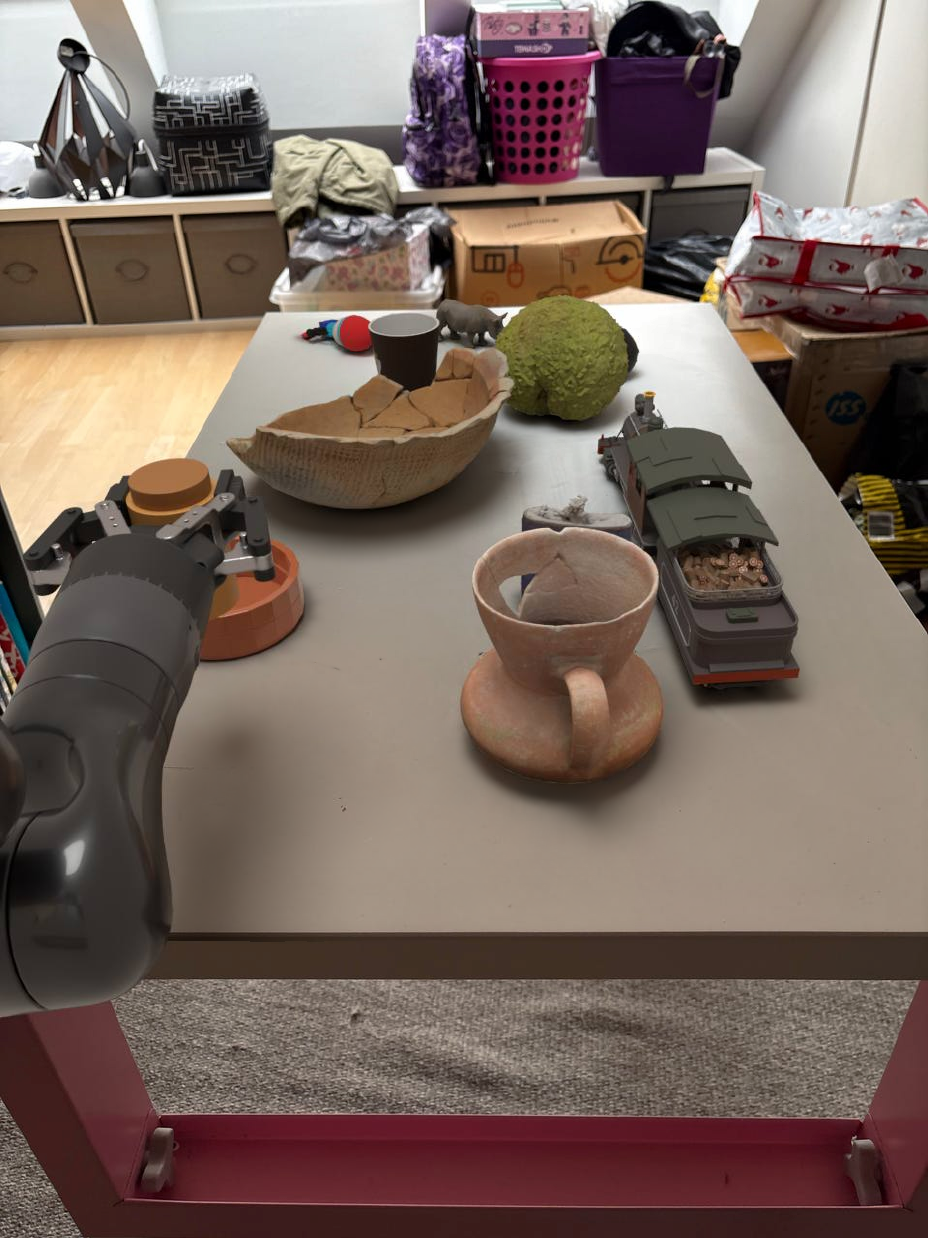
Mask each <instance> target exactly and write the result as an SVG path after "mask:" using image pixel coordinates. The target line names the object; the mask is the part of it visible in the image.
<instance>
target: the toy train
mask: <svg viewBox="0 0 928 1238" xmlns="http://www.w3.org/2000/svg"><path fill="white" fill-rule="evenodd" d="M656 395H657V393H656V392H655V391H651V390H648V391H644V392H643V393H638V394H636V395H635V396H634V411H633V412H631V413H630V411H629V410H627V411H626V413H627V414H628V416H627V417H625V419H624V421H623V423H622V427H621V429H620V430H619V432H618V434H617V435H612V436H608V437H605V433H601V437H600V438H598V439H597V454H598V455H599V456H600V455H603V456H602V464H603V467H604V469H605V472H606V474H607V475H608V476H609V477H611V478H615V482H616V483H620V486H621V489H622V491H623V495H622V497H623V499H624V501H625V503H626V507H627V509H628V511H629V514H630V516H631V520H632V522H633V527H632V533H633V534H634V536H635V540H636V541H637V543H638V547H640V548H641V549H642V550H643V551H644V552H646V553H647V554H648V555H649V556H650V557H651V558H652V560H653V562H654V563H655V565H656V567H657V570H658V574H659V586H658V591H657V595H658V597H659V600H660V602H661V605H662V608H663V610H664V613H665V615H666V618H667V620H668V624H669V625H670V628H671V631H672V633H673V637H674V639H675V641H676V644H677V646H678V649H679V651H680V654H681V656H682V659H683V661H684V665H685V666H686V669H687V672H688V675H689V678H690V680H691V682H692V685H703V686H704V687H707V689H711V688H714V689H717V690H724V688H725V689H726V688H742V687H755V688H761V687H762V686H766V685H767V684H768V681H769V680H786V679H787V680H788V679H798V678H799V675H800V672H801V671H800V670H801V668H800V666H799V664H798V662H797V660H796V658H795V657H794V655H793V653H792V649H793V644H794V639H795V638H796V636H797V634H798V631H799V627H798V625H799V616H798V614H797V612H796V611H795V609H794V606H793V605H792V604H791V602H790V600H789V598H788V596H787V595H786V593H785V591H784V590H783V585H784V577H783V575H782V574H781V572H780V571H779V569H778V567H777V566H776V564H775V562H774V560H773V559H772V557H771V555H770V553H769V552H768V550H767V549H766V543H767V544H770V545H772V546H774V547H779V543H780V542H779V540H778V538H777V536H776V535H775V534H774V531H773V530H772V529H771V527H770V525H769V523H768V521H767V520H766V519H765V517H764V515H763V514H762V511H760V509H759V508H757V507H756V505H755V504H754V501H753V500H752V499H751V497H750V495H749V494H746V493H743V492H740V491H739V487H743V488H746V489H749V490H752V487H753V480H752V479H751V477H750V476H749V474H748V472H747V471H746V469H745V468H744V466H743V465H741V464H740V462H739V461H738V459H737V457H736V456H735V455H734V453H733V451H732V450H731V448H730V447H729V445H728V443H727V441H726V440H725V439H724V437H723V435H721V434H718V433H715V432H713V431H709V430H705V429H700V428H696V427H684V426H683V427H681V426H680V427H679V426H673V427H669V426H668V424H667V423H666V420H665V418H664V417H663V414H661V412H660V409H658V408H657V409H656V405H655V404H654V399H655V396H656ZM655 409H656V411H657V413H658V415H659V416H657V414H656V413H654V412H653V411H655ZM621 434H622V436H621ZM703 481H706V482H709V483H704V482H703ZM726 483H727V484H732V487H731V489H729V488H728V486H727V484H726ZM735 538H736V539H737V538H738V544H737V546H734V544H733V543H732V542H733V541H734V539H735Z"/></svg>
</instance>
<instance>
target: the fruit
mask: <svg viewBox="0 0 928 1238" xmlns="http://www.w3.org/2000/svg"><path fill="white" fill-rule="evenodd" d="M622 328H623V326H622V325H620V324H619V322H617V319H616V318H614V317H613V316H612V315H611V313H610V312H609V311H608V310H607V309H606V308H604V307H602V306H600V304H599V303H598V302H596V301H594V300H593V301H589V300H587V299H583V298H578V297H576V296H570V294H564V295H561V294H558V295H555V296H550V297H549V296H548V297H544V298H542V299H538V300H536V301H531V302H530V303H527V304H526V306H525V307H523V308H521V309H519V311H518V313H516V314H515V315H513V316H511V317H510V320H509V321H508V323H507V324H506V325H505V326H504V329H503V330H502V332H501V333H499V335H497V340H495V343H494V348H496V349H498V350H499V351H500V352H502V353H503V354H505V355H506V356H507V359H508V362H507V363H508V368H509V371H508V376H507V378H510V379H512V380H514V383H515V385H514V388H513V390H512V392H511V393H510V394H511V395H512V396H511V397H510V398H509V399H508V400H507V401H506V402H505V403H506V404H507V405H509V406H510V408H511V409H515V411H519V412H520V413H524V414H527V415H528V416H530V415H531V416H534V415H537V416H539V417H543V416H549V415H552V416H558V417H560V418H561V420H564V421H566V420H567V421H569V420H572V421H574V420H576V421H580V422H582V421H585V420H587V419H590V418H593V417H594V418H595V416H598V415H601V414H602V412H603V410H604V409H607V407H608V406H610V404H611V403H613V402H614V399H615V398H616V396H617V395H618V393H621V392H620V391H621V388H622V386H623V385H624V384H625V383H627V381H626V379H627V376H628V374H629V373H628V371H627V369H628V362H629V360H628V355H627V344H626V343H625V341H624V338H625V337H624V333H623V332H622V331H621V330H622ZM627 373H628V374H627Z"/></svg>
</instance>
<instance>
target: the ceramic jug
mask: <svg viewBox="0 0 928 1238" xmlns="http://www.w3.org/2000/svg"><path fill="white" fill-rule="evenodd" d="M527 574H535V576H534V577H533V579H532V581H531V582H530V584H529V585H528V586H527V587H526V589H525V591H524V594H523V597H522V596H521V600H520V602H519V604H518V606H517V609H516V612H514V610H512V609H511V608H510V607H509V605H508V603H507V602H506V599H505V597H504V596H503V594H502V592H501V591H500V588H499V587H500V586H502V584H503V583H504V582H505V581H506V580H507V579H510V578H513V577H518V576H519V577H521V575H527ZM658 586H659V574H658V570H657V567H656V565H655V563H654V562H653V560H652V558H651V557H650V556H649V555H648V554H647V553H646V552H644V551H643V550H642V549H641V548H640V546H639V545H637V544H635V543H633V542H632V541H631V542H629V541H627V540H625V539H623V538H621V537H618V536H616V535H613V534H610V533H607V532H603V531H598V530H595V529H588V528H578V527H566V528H564V529H563V530H562V531H561V532H555V531H553V530H551V529H550V528H540V529H534V530H529V531H524V532H522V531H521V532H517V533H515V534H512V535H509V536H508V537H505V538H503V539H501V540H499V541H497V542H495V544H493V545H492V546H490V547H489V548H488V549H487V550H486V551H485V552H484V553H483V554H482V555H481V557H479V558H478V559H477V562H476V563H475V565H474V568H473V571H472V575H471V587H472V593H473V598H474V602H475V605H476V608H477V612H478V614H479V617H480V620H481V623H482V625H483V627H484V629H485V631H486V633H487V636H488V637H489V639H490V642H491V644H492V646H493V648H491V649H490V650H489V651H487V652H486V653H485V654H483V655H482V656H481V657H480V658H479V659H478V660H477V661H476V662H475V664H474V665H473V666H472V667H471V669H470V671H469V673H468V675H467V676H466V678H465V680H464V683H463V685H462V688H461V693H460V700H459V702H460V703H459V704H460V705H459V706H460V715H461V720H462V723H463V725H464V727H465V731H466V732H467V734H468V736H469V737H470V739H471V741H472V743H473V744H474V745H475V746H476V748H478V750H479V751H480V752H481V753H482V754H483V755H484V756H485V757H486V758H487V759H489V760H490V761H491V762H493V763H494V764H496V766H499V767H500V768H502V769H504V770H506V771H508V772H510V773H512V774H515V775H518V776H520V777H522V778H527V779H529V780H530V779H531V780H535V781H539V782H543V783H552V784H565V785H570V784H571V785H572V784H573V785H574V784H583V783H590V782H591V783H592V782H595V781H598V780H602V779H605V778H607V777H608V778H609V777H610V776H613V775H616V774H619V773H621V772H622V771H624V770H626V769H627V768H629V767H631V766H632V765H634V764H635V763H636V762H638V761H639V760H640V759H641V758H642V757H643V756H644V755H645V754H646V753H647V752H648V751H649V750H650V748H652V746H653V745H654V742H655V741H656V739H657V737H658V735H659V732H660V730H661V727H662V725H663V720H664V713H665V712H664V710H665V708H664V707H665V705H664V703H665V702H664V697H663V693H662V689H661V687H660V684H659V682H658V680H657V678H656V676H655V673H653V671H652V669H651V668H650V666H649V665H648V664H647V663H646V662H645V661H644V660H643V659H642V658H641V657H640V656H639V655H638V654H637V653H635V652H634V651H635V649H636V647H637V646H638V643H639V642H640V640H641V638H642V637H643V634H644V632H645V630H646V628H647V625H648V623H649V620H650V617H651V614H652V612H653V610H654V609H653V608H654V605H655V602H656V599H657V595H658V592H657V591H658Z"/></svg>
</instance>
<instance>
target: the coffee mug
mask: <svg viewBox="0 0 928 1238" xmlns="http://www.w3.org/2000/svg"><path fill="white" fill-rule="evenodd" d="M368 328H369V333H370V338H371V343H372V346H371V347H372V353H373V356H374V362H375V367H376V371H377V375H378V374H380V375H383V376H385V377H386V378H387V379H390V380H392V381H394V382H396V383H398V384H400V385H402V386H403V387H404V388H403V391H406V390H408V391H409V392H412V391H414V390H417V389H420V388H423V387H428V386H431V384H432V383H433V381H434V378H435V375H436V372H437V367H438V351H439V350H438V349H439V341H438V336H439V320H438V319H437V318H436V316H433V315H431V314H427V313H421V312H397V313H396V312H395V313H391V314H385V315H382V316H379V317H377V318H374V319H372V320H371V321H370V323H369V325H368Z"/></svg>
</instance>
